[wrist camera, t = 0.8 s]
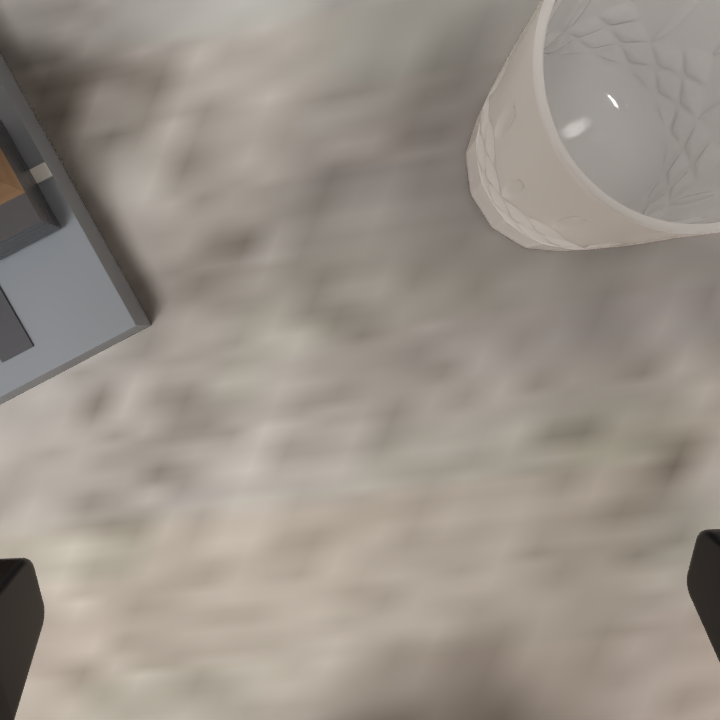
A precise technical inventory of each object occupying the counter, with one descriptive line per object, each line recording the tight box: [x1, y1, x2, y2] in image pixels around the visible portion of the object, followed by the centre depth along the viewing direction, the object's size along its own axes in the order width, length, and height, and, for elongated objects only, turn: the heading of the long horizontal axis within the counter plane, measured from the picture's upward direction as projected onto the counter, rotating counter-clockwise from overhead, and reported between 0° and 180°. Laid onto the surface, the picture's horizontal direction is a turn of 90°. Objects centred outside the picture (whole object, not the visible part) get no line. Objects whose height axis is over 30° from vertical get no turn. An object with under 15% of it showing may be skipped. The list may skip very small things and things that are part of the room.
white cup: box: [466, 0, 720, 251], centre depth 20 cm, size 8×8×10 cm
